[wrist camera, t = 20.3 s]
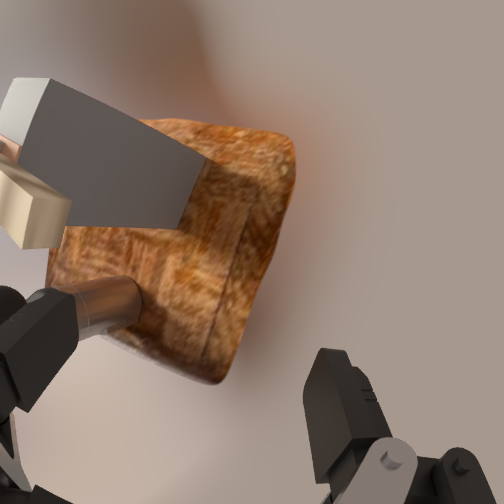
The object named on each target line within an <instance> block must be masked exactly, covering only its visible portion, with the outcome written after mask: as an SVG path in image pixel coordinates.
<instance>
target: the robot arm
mask: <svg viewBox="0 0 504 504" xmlns="http://www.w3.org/2000/svg"><path fill="white" fill-rule="evenodd" d="M141 308H142V298H141V294H140V291H139V289H138V287H137V285H136V284H135V282H134V281H133V280H132V279H130V278H129V277H127V276H125V275H118V276H111V277H106V278H100V279H95V280H89V281H83V282H78V283H72V284H66V285H61V286H55V287H49V288H44V289H40V290H37V291H36V292H34V293H33V294H32V295H31V296H30V297H29V298H28V299H26V300H25V298H24V297H23V296H22V295H21V294H20V293H19V292H18V291H16V290H15V289H13V288H11V287H8V286H0V504H73V503H71V502H68V501H66V500H64V499H62V498H60V497H58V496H56V495H54V494H52V493H50V492H49V491H47V490H45V489H43V488H41V487H39V486H38V485H35V486H34V489H33V490H31V487H30V484H29V482H28V479H27V477H26V475H25V474H24V471H23V469H22V466H21V462H20V456H19V450H18V444H17V437H16V429H15V420H14V415H13V412H12V411H13V409H14V408H15V407H18V408H20V409H22V410H23V411H25V412H27V413H28V412H29V411H30V410H31V408H32V407H33V405H34V404H35V403H36V401H37V400H38V398H39V397H40V396H41V394H42V393H43V391H44V390H45V389H46V387H47V386H48V385H49V383H50V382H51V381H52V379H53V378H54V377H55V375H56V374H57V373H58V371H59V370H60V368H61V367H62V366H63V365H64V363H65V362H66V361H67V360H68V358H69V357H70V356H71V355H72V353H73V352H74V351H75V349H76V347H77V344H78V342H79V341H81V340H84V339H86V338H89V337H92V336H94V335H97V334H100V335H108V334H111V333H113V332H116V331H118V330H121V329H123V328H126V327H128V326H130V325H133V324H135V323H138V322H139V319H138V316H139V314H140V312H141ZM303 404H304V409H305V416H306V421H307V428H308V434H309V441H310V447H311V453H312V460H313V467H314V473H315V480H316V484H319V483H320V484H322V483H329V484H330V489H331V491H330V492H329V493H328V494H327V495H326V497H325V498H324V500H323V501H322V502H321V504H496V501H495V499H494V496H493V494H492V491H491V489H490V486H489V484H488V482H487V480H486V477H485V475H484V473H483V471H482V468H481V466H480V464H479V462H478V460H477V458H476V457H475V456H474V455H473V454H472V453H471V452H470V451H468V450H466V449H464V448H459V447H457V448H452V449H450V450H448V451H447V452H446V453H445V454H444V455H443V456H442V457H441V458H440V459H435V458H427V457H419V456H416V453H415V452H414V450H413V449H412V448H411V447H410V446H409V445H408V444H407V443H406V442H404V441H402V440H400V439H397V438H393V437H392V434H391V432H390V429H389V427H388V424H387V422H386V419H385V417H384V415H383V412H382V410H381V407H380V405H379V403H378V402H377V398H376V396H375V393H374V392H373V389H372V386H371V384H370V382H369V379H368V378H367V376H366V375H365V374H364V373H363V372H362V371H361V370H360V369H359V368H358V367H352V365H351V363H350V360H349V358H348V355H347V353H346V352H345V351H344V350H336V349H327V348H321V349H320V350H319V352H318V354H317V356H316V359H315V361H314V364H313V366H312V368H311V371H310V374H309V376H308V378H307V380H306V383H305V386H304V391H303Z"/></svg>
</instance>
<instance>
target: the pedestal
mask: <svg viewBox="0 0 504 504" xmlns="http://www.w3.org/2000/svg"><path fill="white" fill-rule="evenodd" d="M0 140H1V141H3V142H5V144H4V147H3V150H2V154H4V155H5V156H6V157H8V158H9V159H11V160H12V161H13V162H15V163H16V164H18V165H19V166H21V167H22V168H23V169H25V170H26V171H28V172H29V173H31V174H32V175H34V176H35V177H37V178H38V179H40V180H41V181H42V182H44V183H45V184H47V185H48V186H50V187H51V188H53V189H54V190H56V191H57V192H59V193H60V194H62V195H64V196H65V197H67V198H68V199H70V200H71V201H72V204H71V207H70V211H69V214H68V218H67V221H66V225H65V226H94V227H130V228H160V229H177V227H178V224H179V222H180V219H181V217H182V214H183V212H184V209H185V207H186V204H187V202H188V200H189V197H190V195H191V192H192V190H193V188H194V185H195V183H196V181H197V178H198V176H199V174H200V172H201V169H202V167H203V165H204V163H205V160H206V157H205V156H203V155H201V154H199V153H198V152H196V151H194V150H192V149H190V148H189V147H187V146H185V145H183V144H181V143H180V142H178V141H176V140H174V139H172V138H170V137H169V136H167V135H165V134H163V133H161V132H159V131H157V130H155V129H154V128H152V127H150V126H148V125H146V124H144V123H142V122H140V121H138V120H136V119H134V118H132V117H130V116H128V115H126V114H124V113H122V112H121V111H118V110H116V109H114V108H112V107H110V106H108V105H106V104H104V103H102V102H100V101H98V100H96V99H94V98H92V97H90V96H87V95H85V94H83V93H81V92H79V91H77V90H75V89H73V88H70V87H68V86H66V85H64V84H61V83H59V82H57V81H55V80H52V79H47V78H14V80H13V82H12V84H11V86H10V88H9V91H8V93H7V95H6V98H5V100H4V102H3V105H2V108H1V110H0Z"/></svg>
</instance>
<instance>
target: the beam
mask: <svg viewBox="0 0 504 504" xmlns="http://www.w3.org/2000/svg"><path fill="white" fill-rule="evenodd" d="M4 144H5V142H3V141H1V140H0V224H1V226H2V227H3V228H4V229H5V231H6V232H7V233H8V234H9V235H10V236H11V238H12V239H13V240H14V241H15V242H16V243H17V245H18V246H19V247H20V248H21V249H40V248H59V247H60V246H61V241H62V237H63V233H64V229H65V225H66V221H67V218H68V214H69V211H70V207H71V204H72V201H71V200H70V199H68V198H67V197H65V196H64V195H62V194H60V193H59V192H57V191H56V190H54V189H53V188H51V187H50V186H48V185H47V184H45V183H44V182H42V181H41V180H40V179H38V178H37V177H35V176H34V175H32V174H31V173H29V172H28V171H26V170H25V169H23V168H22V167H21V166H19V165H18V164H16V163H15V162H13V161H12V160H11V159H9V158H8V157H6V156H5V155H4V154H2V150H3V147H4Z"/></svg>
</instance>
